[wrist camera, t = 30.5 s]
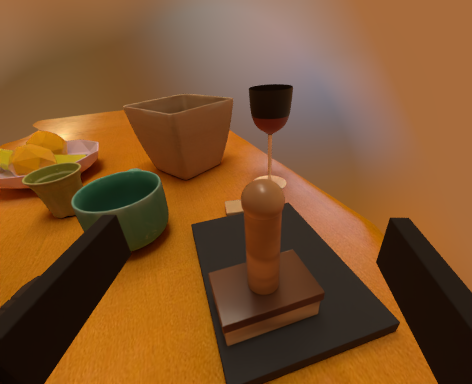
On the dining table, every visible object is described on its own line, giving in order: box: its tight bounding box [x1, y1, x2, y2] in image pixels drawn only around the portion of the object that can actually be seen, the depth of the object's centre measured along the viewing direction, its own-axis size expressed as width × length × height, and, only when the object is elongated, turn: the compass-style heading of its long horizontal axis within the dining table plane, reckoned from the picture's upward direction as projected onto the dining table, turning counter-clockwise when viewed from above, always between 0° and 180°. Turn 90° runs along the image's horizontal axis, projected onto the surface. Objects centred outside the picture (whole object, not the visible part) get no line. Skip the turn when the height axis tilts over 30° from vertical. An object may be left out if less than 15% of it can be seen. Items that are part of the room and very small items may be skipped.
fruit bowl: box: [0, 130, 98, 188], centre depth 63 cm, size 28×27×11 cm
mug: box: [71, 169, 168, 251], centre depth 40 cm, size 17×13×10 cm
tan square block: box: [225, 200, 244, 216], centre depth 45 cm, size 4×4×2 cm
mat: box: [192, 203, 400, 384], centre depth 33 cm, size 24×18×2 cm
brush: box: [208, 179, 325, 346], centre depth 23 cm, size 10×6×16 cm, turn 107°
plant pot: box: [22, 162, 83, 218], centre depth 47 cm, size 9×9×9 cm
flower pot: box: [123, 94, 233, 180], centre depth 61 cm, size 19×19×17 cm
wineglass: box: [249, 84, 293, 189], centre depth 49 cm, size 8×9×20 cm
